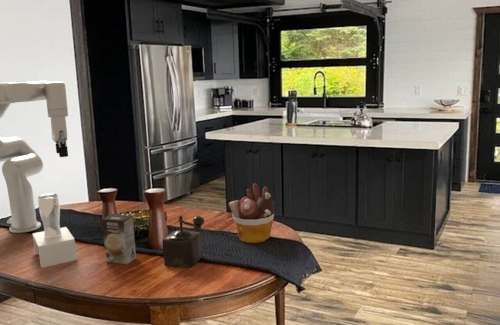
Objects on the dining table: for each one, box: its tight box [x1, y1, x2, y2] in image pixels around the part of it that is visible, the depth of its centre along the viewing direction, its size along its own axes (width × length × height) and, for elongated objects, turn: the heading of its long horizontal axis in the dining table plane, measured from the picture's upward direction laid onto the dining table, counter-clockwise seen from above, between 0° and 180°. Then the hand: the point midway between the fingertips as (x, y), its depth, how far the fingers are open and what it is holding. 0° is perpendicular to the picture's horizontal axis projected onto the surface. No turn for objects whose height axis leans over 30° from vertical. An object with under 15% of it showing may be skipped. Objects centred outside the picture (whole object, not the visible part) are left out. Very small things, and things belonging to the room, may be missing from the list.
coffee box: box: [101, 213, 137, 265], centre depth 173 cm, size 9×6×16 cm
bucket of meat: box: [228, 182, 275, 244], centre depth 188 cm, size 20×16×20 cm
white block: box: [31, 226, 78, 269], centre depth 179 cm, size 16×12×8 cm
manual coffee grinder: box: [161, 215, 205, 268], centre depth 168 cm, size 16×11×18 cm
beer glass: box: [37, 193, 62, 238], centre depth 177 cm, size 7×7×15 cm
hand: (62, 154), depth 199 cm, fingers open, 9 cm apart
